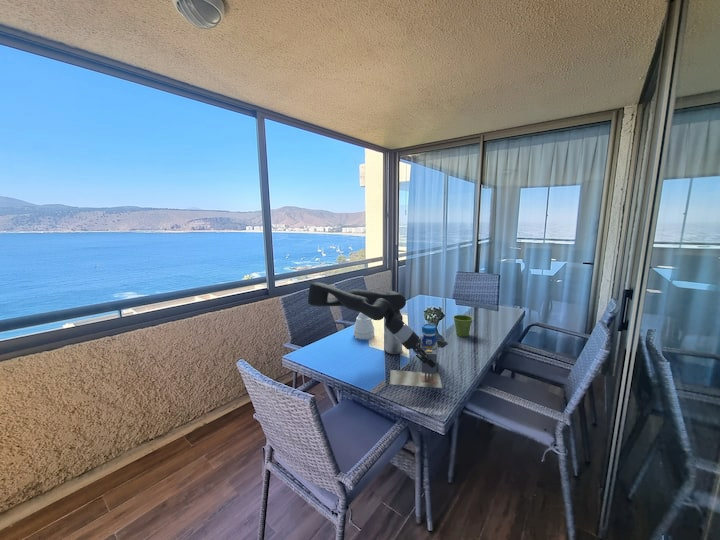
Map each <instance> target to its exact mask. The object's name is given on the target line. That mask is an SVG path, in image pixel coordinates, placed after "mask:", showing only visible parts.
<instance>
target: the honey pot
mask: <svg viewBox="0 0 720 540" xmlns="http://www.w3.org/2000/svg"><path fill="white" fill-rule="evenodd" d="M372 320H373V319H371V318H369V317H368V316H366V315H364V314H363V313H361V312H358V316H356V321H355V322H354V323H355V324H354V327H353V337H354V336H355V337H356V338H355V337H354V338H355V339H357V338H359V339H358V340H361V339H366V340H371V339H372V337H373V338H374V337H375V326H374V324H373V321H372ZM370 338H371V339H370Z"/></svg>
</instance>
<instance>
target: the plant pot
mask: <svg viewBox="0 0 720 540" xmlns="http://www.w3.org/2000/svg"><path fill="white" fill-rule="evenodd" d="M452 318H453V320H454V322H453V323H454V326H455V327H454V328H455V333H456V335H457V336H459V337H463V338H465V337H469V335H470V330H471V326H472V322H473V320H474V317H472V316H470V315H468V314H467V315H465V314H456V315H453V316H452Z"/></svg>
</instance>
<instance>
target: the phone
mask: <svg viewBox="0 0 720 540" xmlns="http://www.w3.org/2000/svg"><path fill="white" fill-rule="evenodd" d="M419 340H420V338H419ZM420 342H421V340H420ZM444 345H445V346H447V345H448V342H447V341H445V340H443V339H442V340H440V339H438V338H437V347H438V346H439V348H443V347H445V346H444Z"/></svg>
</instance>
